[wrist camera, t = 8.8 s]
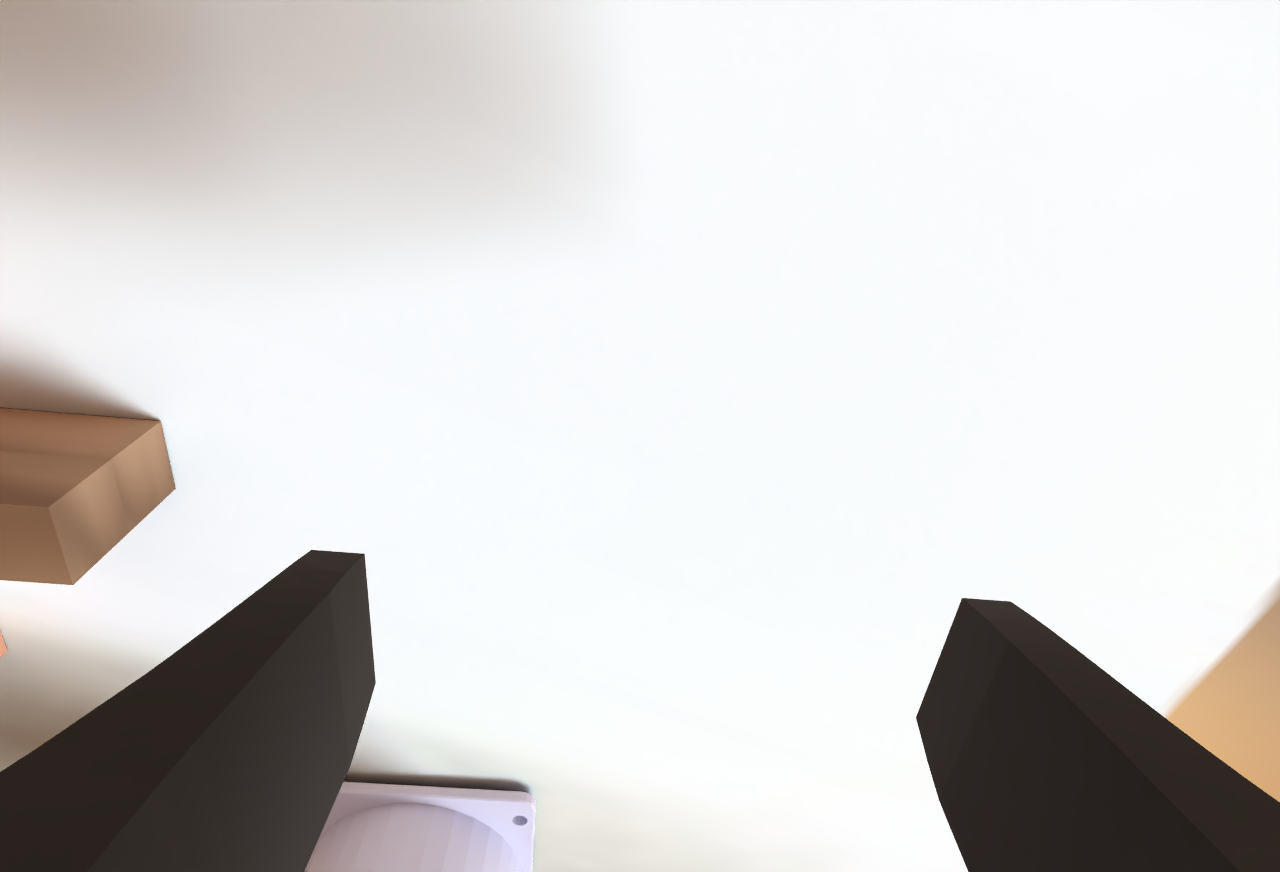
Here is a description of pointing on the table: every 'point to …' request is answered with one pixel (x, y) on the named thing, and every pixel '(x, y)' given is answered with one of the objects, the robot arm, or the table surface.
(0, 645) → the salmon stepped block
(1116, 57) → the table surface
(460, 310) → the table surface
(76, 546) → the walnut notched bar
